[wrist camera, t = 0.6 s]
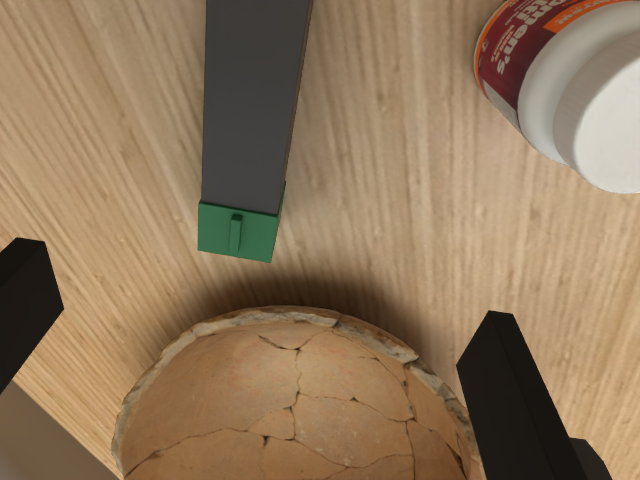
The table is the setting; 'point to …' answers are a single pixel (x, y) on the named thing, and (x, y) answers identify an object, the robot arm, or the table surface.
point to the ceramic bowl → (292, 405)
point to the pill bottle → (569, 82)
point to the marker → (248, 121)
